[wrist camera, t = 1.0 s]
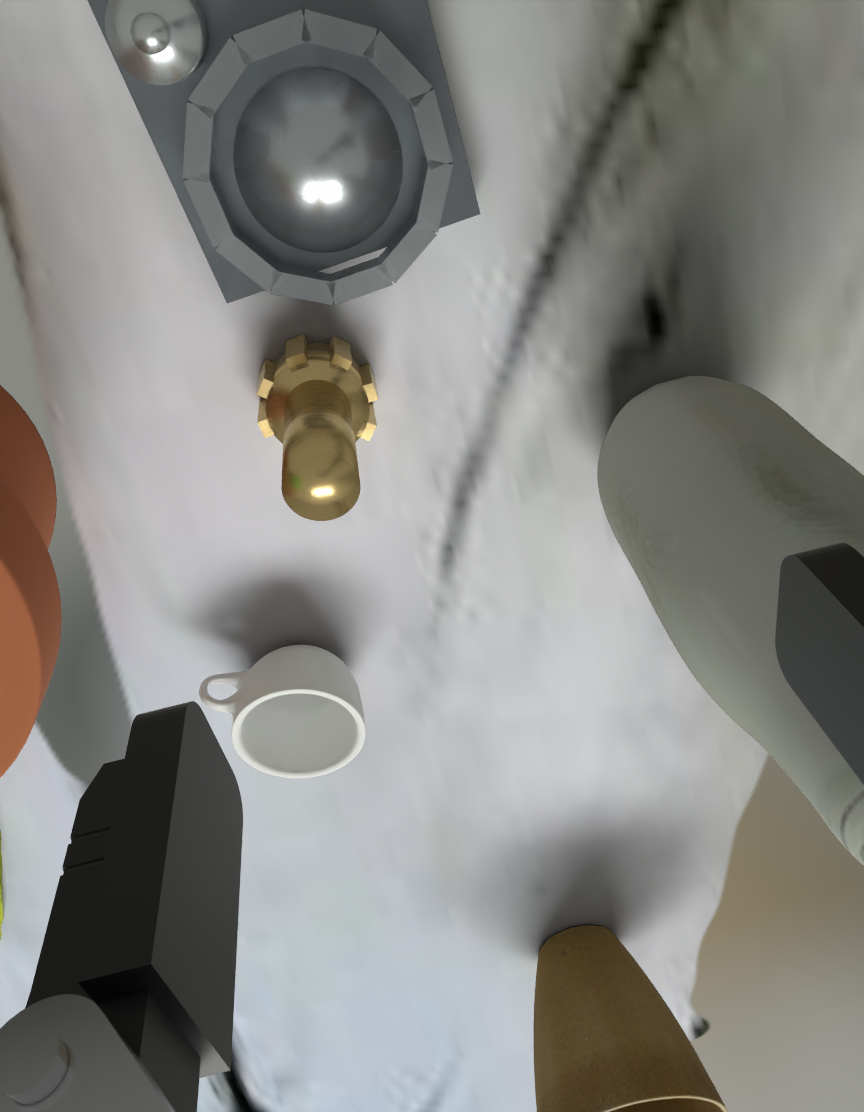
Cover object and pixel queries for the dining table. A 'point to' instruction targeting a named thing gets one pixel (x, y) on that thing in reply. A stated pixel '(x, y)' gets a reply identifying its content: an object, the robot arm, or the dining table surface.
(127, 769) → the robot arm
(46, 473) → the potted cactus
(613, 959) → the plant pot
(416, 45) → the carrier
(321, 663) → the teacup
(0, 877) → the dish towel
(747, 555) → the white rounded cylinder
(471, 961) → the dining table surface
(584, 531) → the dining table surface
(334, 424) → the gear
